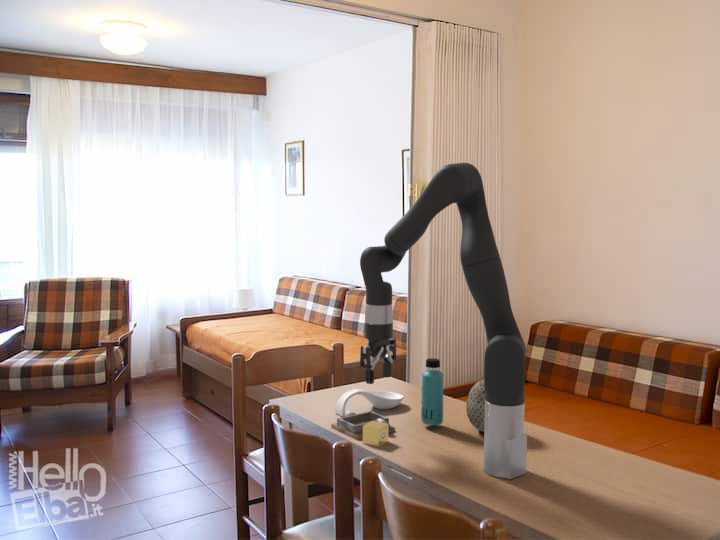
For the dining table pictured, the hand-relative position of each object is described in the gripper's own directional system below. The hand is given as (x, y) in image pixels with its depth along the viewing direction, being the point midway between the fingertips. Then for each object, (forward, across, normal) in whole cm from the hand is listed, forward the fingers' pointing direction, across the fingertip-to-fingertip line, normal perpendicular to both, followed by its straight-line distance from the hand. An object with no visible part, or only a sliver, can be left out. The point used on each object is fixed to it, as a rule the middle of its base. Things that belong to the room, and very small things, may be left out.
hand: (378, 380), depth 178 cm
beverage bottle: (+17, -18, +7) cm, 26 cm away
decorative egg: (+17, -24, +21) cm, 36 cm away
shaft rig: (+17, -5, -8) cm, 19 cm away
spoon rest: (+17, -22, -18) cm, 33 cm away
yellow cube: (+17, +2, 0) cm, 17 cm away
